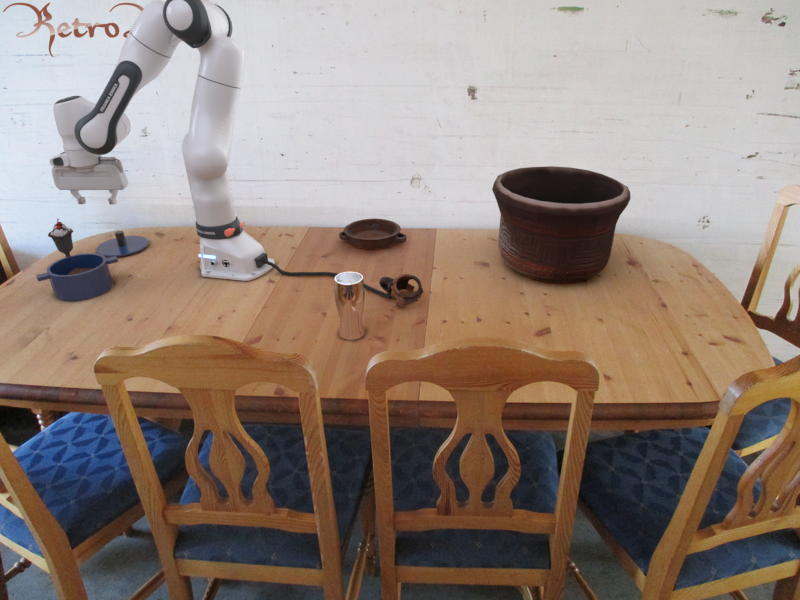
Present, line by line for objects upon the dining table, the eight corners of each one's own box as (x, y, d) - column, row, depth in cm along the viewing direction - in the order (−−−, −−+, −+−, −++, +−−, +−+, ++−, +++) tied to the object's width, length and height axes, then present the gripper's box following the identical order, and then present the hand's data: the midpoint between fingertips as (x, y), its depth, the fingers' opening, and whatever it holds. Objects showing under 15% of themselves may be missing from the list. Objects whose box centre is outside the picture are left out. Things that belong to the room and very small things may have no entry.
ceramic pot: (472, 281, 161) (477, 195, 148) (502, 234, 190) (508, 159, 178) (610, 304, 148) (628, 213, 136) (620, 250, 178) (635, 171, 166)
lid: (155, 250, 183) (151, 233, 180) (102, 263, 175) (97, 246, 172) (142, 235, 194) (138, 219, 191) (92, 246, 186) (87, 230, 183)
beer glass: (337, 326, 141) (333, 271, 134) (366, 325, 141) (363, 270, 134) (337, 342, 135) (332, 285, 127) (366, 340, 135) (364, 284, 128)
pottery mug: (423, 292, 157) (428, 275, 150) (414, 320, 152) (419, 305, 145) (382, 278, 157) (385, 261, 150) (371, 306, 152) (373, 290, 145)
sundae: (72, 268, 171) (57, 221, 164) (53, 267, 172) (37, 220, 165) (87, 259, 177) (73, 213, 170) (68, 258, 178) (53, 212, 171)
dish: (344, 230, 194) (343, 217, 192) (409, 232, 192) (409, 218, 190) (334, 252, 179) (332, 237, 177) (404, 254, 177) (404, 239, 175)
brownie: (98, 282, 162) (94, 268, 160) (88, 291, 157) (83, 277, 155) (80, 282, 163) (75, 267, 160) (69, 291, 158) (64, 276, 156)
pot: (128, 288, 160) (122, 264, 156) (48, 309, 150) (39, 284, 146) (116, 269, 170) (110, 246, 167) (40, 288, 160) (32, 264, 157)
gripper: (125, 153, 164) (137, 200, 170) (56, 154, 165) (71, 200, 172) (114, 160, 158) (127, 207, 165) (43, 160, 160) (58, 207, 166)
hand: (97, 203), depth 168 cm, fingers open, 8 cm apart
